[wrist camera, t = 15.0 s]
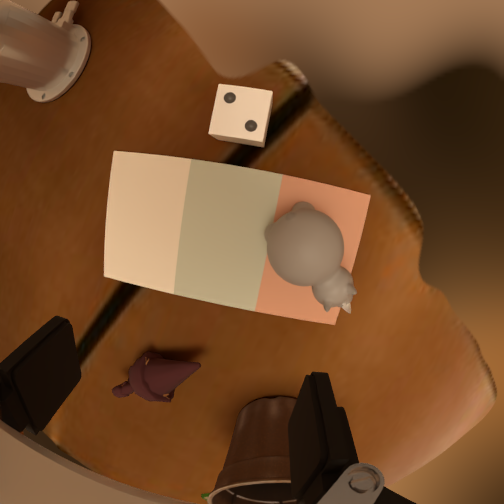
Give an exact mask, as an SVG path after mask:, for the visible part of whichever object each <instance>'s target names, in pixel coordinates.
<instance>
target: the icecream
mask: <svg viewBox="0 0 504 504" xmlns="http://www.w3.org/2000/svg"><path fill="white" fill-rule="evenodd" d="M200 367H201V364H200V363H198V362H186V361H176V360H167V359H164V358H163V357H162V355H161V354H159V353H152V352H149V351H147V352H146V353H144V354H143V356H142V357H141V358H139V359H137V360H136V362H135V363H134V365H133V366H131V367H130V369H129V379H128V381H125V382H124V383H122V384H120V385H118V386H116V387H114V388H113V389H112V392H113V394H114V395H115V396H116V397H119V398H120V397H126V396H129V394H131V393H133V392H135V394H137V395H139V396H140V397H142V398H144V399H146V400H148V401H162V402H171V399H172V398H173V397H174V391H175V388H176V387H177V386H178V385H179V384H181V383H182V382H183V381H184V380H185V379H187V378H188V377H189V376H190V375H191V374H193V373H194V372H195V371H196V370H198V369H199V368H200Z"/></svg>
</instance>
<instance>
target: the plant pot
mask: <svg viewBox="0 0 504 504" xmlns="http://www.w3.org/2000/svg"><path fill="white" fill-rule="evenodd" d="M296 401H297V399H294V398H289V397H282V396H278V397H276V398H273V399H268V398H262V399H258V400H256V401H253V402H251V403H250V404H248V405H247V406H245V407H244V408H243V409H242V410H241V412H240V413H239V415H238V418H237V422H236V426H235V430H234V433H233V436H232V440H231V444H230V447H229V450H228V454H227V457H226V460H225V464H224V467H223V470H222V471H221V472H220V474H219V476H218V479H217V482H216V485H215V488H214V490H213V491H212V492H211V493H210V494H209V496H208V500H207V501H208V504H297V501H296V499H293V498H292V496H291V477H290V458H289V441H288V422H289V419H290V416H291V414H292V411H293V409H294V406H295V404H296Z"/></svg>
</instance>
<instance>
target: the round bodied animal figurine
mask: <svg viewBox="0 0 504 504" xmlns="http://www.w3.org/2000/svg"><path fill="white" fill-rule="evenodd" d="M264 237H265V240H266V242H267V255H268V259H269V262H270V264H271V266H272V268H273V269H274V271H275V272H276V273H277V274H278V275H279V276H280V277H281V278H282V279H283V280H285V281H287V282H289V283H291V284H293V285H297V286H312V292H313V295H314V297H315V298H316V300H317V301H318V302H319V303H321V304H322V305H323V307H324V310H325V311H326V312H328V311H329V310H330V308H331V307H336V306H337V307H342V308H343V309H344V310H345V311H346V312H348V313H351V305H350V302H351V301H352V297H353V295H355V294H357V291H356V289H355V287H354V286H353V278H352V276H351V274H350V272H349V271H348V270H347V269H345V268H344V267H342V266H340V264H341V262H342V259H343V255H344V240H343V236H342V233H341V231H340V229H339V227H338V226H337V224H336V223H335V222H334V221H333V220H332V219H331V218H330V217H329V216H328V215H326V214H325V213H323V212H320V211H318V210H315V208H314V206H313V205H312V204H310V203H308V202H298V203H296V204H295V205H294V207H293V208H292V211H290V212H288V213H286V214H285V215H283V216H282V217H281V218H280V219H278V221H277V222H274V223H271V224H269V225H268V226H267V227H266V229H265V232H264Z"/></svg>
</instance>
